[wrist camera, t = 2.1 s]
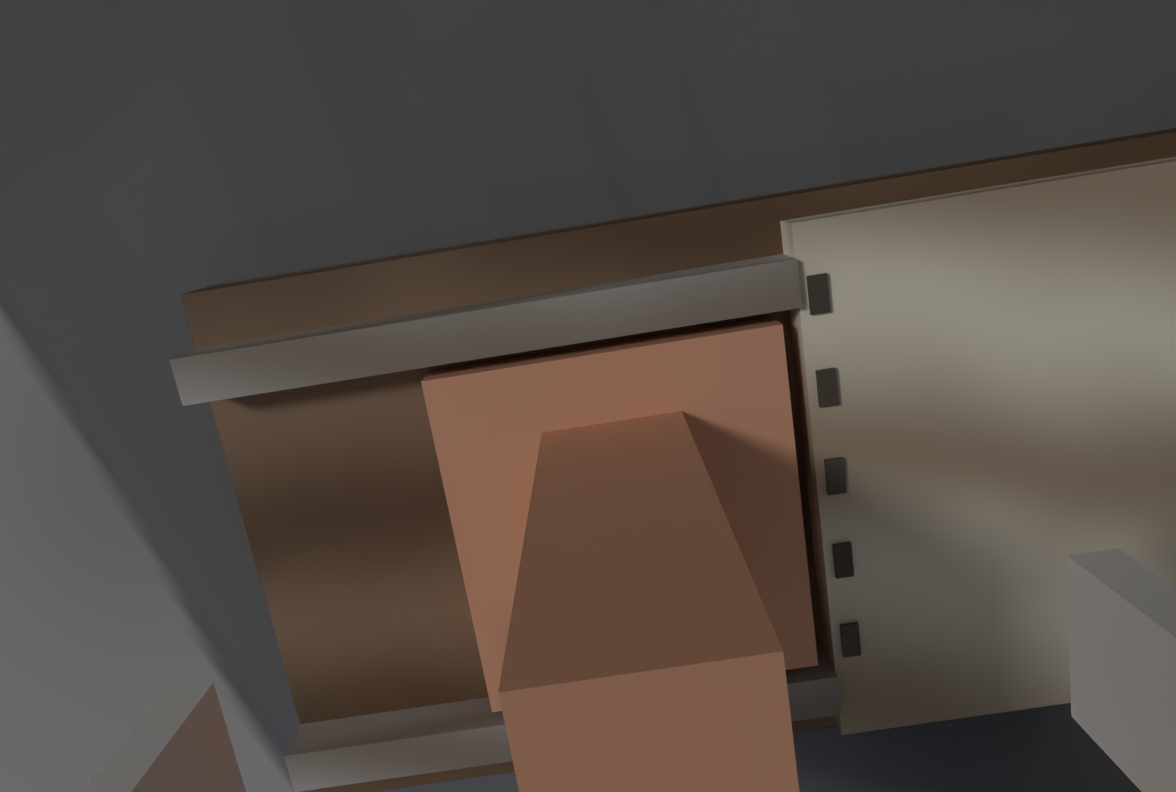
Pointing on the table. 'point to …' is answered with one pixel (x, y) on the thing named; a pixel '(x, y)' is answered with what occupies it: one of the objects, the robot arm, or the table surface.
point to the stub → (634, 557)
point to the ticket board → (820, 420)
